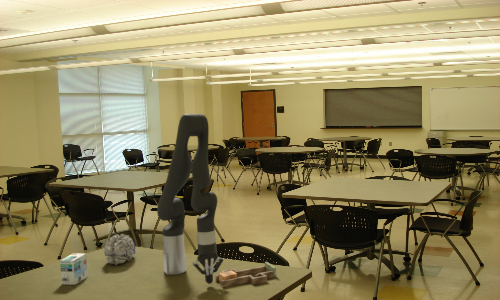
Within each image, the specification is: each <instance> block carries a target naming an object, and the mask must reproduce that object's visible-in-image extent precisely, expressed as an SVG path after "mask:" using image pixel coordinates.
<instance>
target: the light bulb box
mask: <svg viewBox="0 0 500 300" xmlns="http://www.w3.org/2000/svg"><path fill="white" fill-rule="evenodd" d="M87 259H88V257H87V253H81V252H80V253H77V252H75V253H74V252H73V253H71V254H70V255H68V256H65V257H64V258H61V259H60V260H59V265H60V266H59V267H60V278H61V285H69V286H71V285H74V286H75V285H76V284H79V283H80V282H82V281H84V280H85V279H87V278H89V276H88V275H89V273H88V271H89V270H88V261H87Z"/></svg>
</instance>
